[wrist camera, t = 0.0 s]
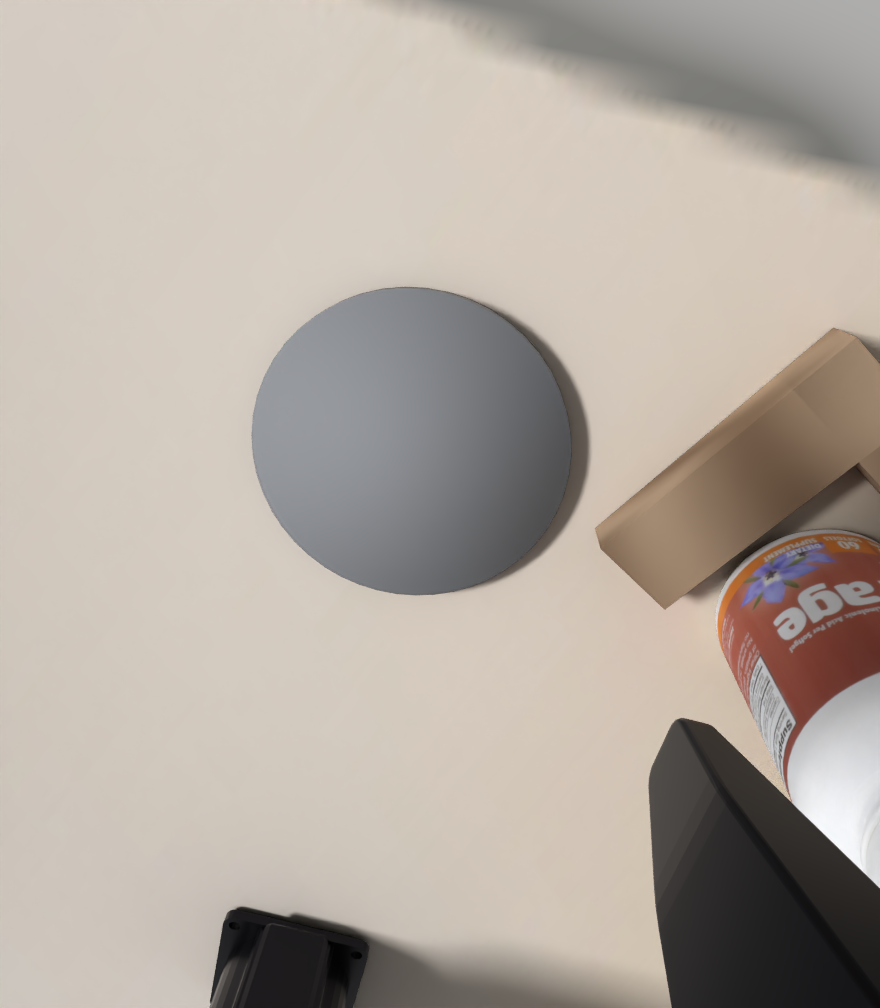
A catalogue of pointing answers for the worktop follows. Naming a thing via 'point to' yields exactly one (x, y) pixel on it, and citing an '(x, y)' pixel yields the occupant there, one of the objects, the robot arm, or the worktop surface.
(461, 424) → the mat
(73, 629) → the worktop surface
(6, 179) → the worktop surface
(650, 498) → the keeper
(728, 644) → the pill bottle
